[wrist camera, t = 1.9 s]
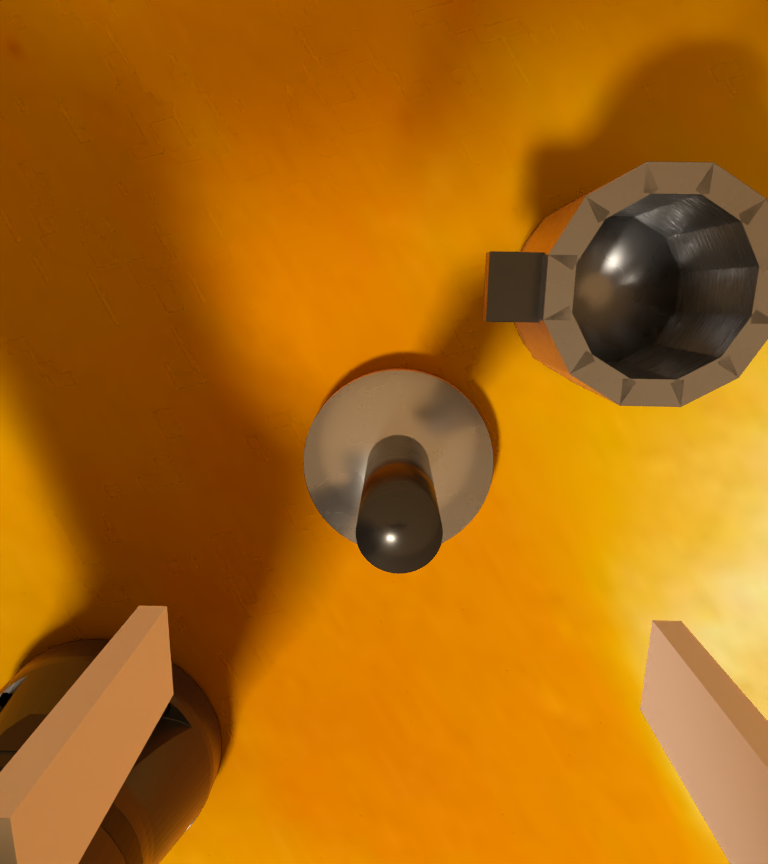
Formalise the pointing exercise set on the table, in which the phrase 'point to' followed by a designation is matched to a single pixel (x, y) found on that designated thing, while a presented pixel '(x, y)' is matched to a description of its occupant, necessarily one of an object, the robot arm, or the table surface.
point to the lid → (398, 465)
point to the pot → (643, 285)
